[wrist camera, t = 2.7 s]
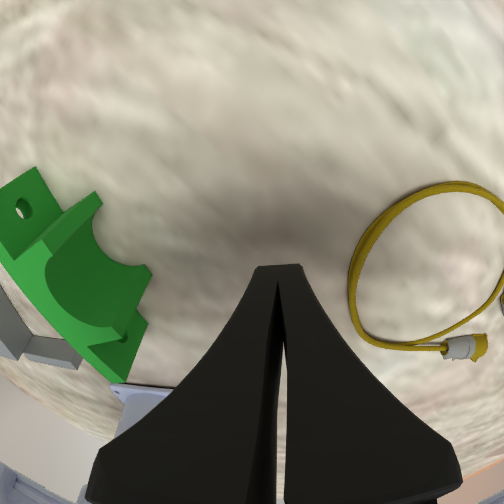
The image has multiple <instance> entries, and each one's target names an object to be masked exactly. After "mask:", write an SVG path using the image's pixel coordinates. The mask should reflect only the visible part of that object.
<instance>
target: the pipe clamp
mask: <svg viewBox="0 0 504 504" xmlns="http://www.w3.org/2000/svg"><path fill="white" fill-rule="evenodd" d="M102 204H103V203H102V201H101V200H100V198H99V196H98V195H97V193H96V192H95V191H94V192H93V193H91V194H90V195H88V196H87V197H85V198H84V199H82V200H81V201H79V202H78V203H77V204H75V205H74V206H72V207H71V208H70V209H68V210H67V211H65V212H63V211H62V209H61V208H60V206H59V205H58V203H57V201H56V200H55V198H54V197H53V195H52V193H51V192H50V190H49V189H48V187H47V185H46V183H45V182H44V180H43V178H42V177H41V175H40V173H39V171H38V170H37V168H36V166H35V167H33V168H32V169H30V170H29V171H27V172H25V173H24V174H22V175H20V176H19V177H17V178H16V179H14V180H13V181H11V182H9V183H8V184H6V185H5V186H3V187H2V188H1V189H0V262H1V264H2V265H3V266H4V268H5V269H6V271H7V272H8V273H9V275H10V276H11V277H12V279H13V280H14V281H15V283H16V284H17V285H18V287H19V288H20V289H21V290H22V292H23V293H24V294H25V295H26V297H27V298H28V299H29V300H30V301H31V303H32V304H33V305H34V306H35V307H36V309H37V310H38V311H39V312H40V313H41V314H42V315H43V317H44V318H45V319H46V320H47V321H48V322H49V323H50V324H51V325H52V326H53V328H54V329H55V330H56V331H57V332H58V333H59V334H60V335H61V336H62V337H63V338H64V339H65V340H66V341H67V342H68V343H69V344H70V345H71V346H72V347H73V348H74V349H75V350H76V351H77V352H78V353H79V354H80V355H81V356H82V357H83V358H84V359H85V360H86V361H87V362H88V363H89V364H91V365H92V366H93V367H94V368H95V369H96V370H97V371H98V372H99V373H100V374H102V375H103V376H104V377H105V378H106V379H107V380H109V381H110V382H111V383H124V382H126V380H127V377H128V375H129V372H130V369H131V367H132V364H133V361H134V359H135V356H136V353H137V351H138V348H139V346H140V343H141V340H142V338H143V335H144V333H145V330H146V328H147V325H148V323H147V322H146V321H145V319H144V318H143V317H142V316H141V315H140V314H139V312H138V311H137V310H136V308H137V306H138V304H139V302H140V299H141V297H142V295H143V293H144V291H145V289H146V287H147V285H148V283H149V281H150V279H151V277H152V274H151V273H150V271H149V270H148V269H147V267H146V266H145V264H144V265H140V266H127V265H123V264H120V263H117V262H115V261H114V260H112V259H111V258H109V257H108V256H107V255H106V254H105V253H104V252H103V251H102V250H101V249H100V248H99V246H98V245H97V243H96V241H95V239H94V236H93V232H92V219H93V216H94V213H95V212H96V210H97V209H98V208H99V207H100V206H101V205H102ZM16 208H18V209H19V210H20V211H21V212H22V214H23V217H24V219H23V218H21V217H20V216H19V215H18V213H17V211H16Z"/></svg>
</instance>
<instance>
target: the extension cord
mask: <svg viewBox="0 0 504 504" xmlns="http://www.w3.org/2000/svg"><path fill="white" fill-rule="evenodd" d="M447 192H466V193H472V194H475V195H479V196H482V197H484V198H486V199H488V200H490V201H491V202H492V203H493V204H494V205H496V207H497V208H498V209H499V210H500V211H501V212H502V213H503V214H504V203H503V202H502V201H501V200H500V199H499V198H497V197H496V196H494V195H493V194H491V193H490V192H489V191H487V190H486V189H485V188H483V187H481V186H479V185H477V184H473V183H470V182H463V181H454V182H447V183H442V184H438V185H434V186H431V187H429V188H426V189H424V190H421V191H419V192H417V193H415V194H413V195H411V196H409V197H407V198H406V199H404V200H402V201H400V202H398V203H397V204H395V205H394V206H392V207H391V208H389V209H388V210H386V211H385V212H384V213H383V214H382V215H381V216H380V217H378V218H377V219H376V220H375V221H374V223H373V224H372V225H371V226H370V227H369V228H368V229H367V231H366V232H365V234H364V235H363V237H362V238H361V240H360V242H359V244H358V246H357V247H356V249H355V252H354V255H353V258H352V261H351V265H350V270H349V278H348V296H349V309H350V314H351V319H352V322H353V324H354V327H355V329H356V331H357V333H358V334H359V336H360V337H361V338H362V339H364V340H365V341H366V342H368V343H370V344H372V345H374V346H377V347H381V348H385V349H393V350H402V351H440V353H441V355H442V356H443V359H449V358H453V359H452V361H453V360H455V359H469V358H470V359H471V360H472V361H473V362H476V361H477V359H478V358H479V357H481V356H483V355H484V354H485V353H486V351H487V348H488V340H487V335H486V334H472V335H469V336H461V337H456V338H452V339H449V340H444V341H443V342H442V344H441V346H414V345H418V344H422V343H425V342H428V341H431V340H433V339H436V338H439V337H441V336H443V335H445V334H447V333H449V332H451V331H453V330H454V329H456V328H458V327H460V326H461V325H463V324H465V323H466V322H468V321H469V320H471V319H472V318H474V317H475V316H477V315H478V314H480V313H481V312H482V311H484V310H485V309H486V308H487V307H488V306H489V305H490V304H491V303H492V302H493V301H494V299H495V298H496V296H497V295H498V293H499V291H500V290H501V288H502V286H503V284H504V273H503V275H502V277H501V280H500V282H499V284H498V286H497V288H496V289H495V291H494V292H493V294H492V296H491V297H490V298H489V299H488V300H487V302H486V303H485V304H483V305H482V306H481V307H480V308H479V309H478V310H476V311H475V312H474V313H472V314H471V315H469V316H468V317H466V318H465V319H463V320H462V321H460V322H458V323H457V324H455V325H453V326H452V327H450V328H448V329H446V330H444V331H442V332H440V333H437V334H435V335H432V336H429V337H427V338H423V339H420V340H416V341H411V342H405V343H386V342H381V341H378V340H375V339H373V338H371V337H370V336H368V335H367V334H366V333H365V332H364V331H363V329H362V327H361V323H360V320H359V317H358V313H357V308H356V295H355V294H356V288H357V282H358V278H359V275H360V271H361V268H362V266H363V264H364V261H365V259H366V257H367V255H368V253H369V251H370V250H371V248H372V246H373V244H374V242H375V241H376V240H377V238H378V237H379V236H380V234H381V233H382V231H383V230H384V229H385V228H386V227H387V226H388V224H389V223H390V222H391V221H392V220H393V219H394V218H395V217H396V216H397V215H399V214H400V213H401V212H402V211H403V210H404V209H406V208H407V207H409V206H410V205H412V204H413V203H415V202H417V201H419V200H421V199H423V198H425V197H428V196H432V195H436V194H440V193H447ZM501 304H502V309H503V310H502V313H503V315H504V293H503V294H502V296H501ZM444 357H445V358H444Z"/></svg>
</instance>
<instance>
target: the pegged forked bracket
mask: <svg viewBox="0 0 504 504" xmlns="http://www.w3.org/2000/svg"><path fill="white" fill-rule="evenodd" d="M22 353H24V354H25V356H26V357H27V358H28V359H29V360H31V361H35V362H39V363H44V364H48V365H53V366H57V367H62V368H67V369H73V370H78V368H79V365H80V363H81V361H82V359H83V357H82V356H81V355H80V354H79V353H78V352H77V351H76V350H75V349H74V348H73V347H72V346H71V345H70V344H69V343H68V342H67V341H66V340H61V339H54V338H47V337H40V336H33V335H32V333H31V332H30V331H29V329H28V328H27V326H26V325H25V323H24V322H23V320H22V319H21V318H20V316H19V315H18V313H17V312H16V310H15V308H14V307H13V305H12V304H11V302H10V301H9V299H8V297H7V296H6V294H5V292H4V291H3V289H2V287H1V286H0V356H2V357H5V358H9V359H12V360H16V361H18V360H19V358H20V356H21V355H22Z"/></svg>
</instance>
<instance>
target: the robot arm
mask: <svg viewBox="0 0 504 504" xmlns="http://www.w3.org/2000/svg"><path fill="white" fill-rule="evenodd" d="M283 342H284V350H285V358H286V366H287V433H286V462H285V484H284V502H285V504H437V498H439V497H441V496H443V495H445V494H448V493H450V492H452V491H454V490H456V489H457V488H459V487H460V486H461V484H462V483H463V479H462V474H461V469H460V465H459V462H458V459H457V457H456V454H455V452H454V449H453V447H452V444H451V443H450V442H449V441H448V440H446V439H445V438H444V437H442V436H441V435H440V434H438V433H437V432H436V431H434V430H433V429H432V428H430V427H429V426H428V425H427V424H425V423H424V422H423V421H422V420H421V419H419V418H418V417H417V416H416V415H415V414H414V413H412V412H411V411H410V410H409V409H408V408H407V407H406V406H404V405H403V404H402V403H401V402H400V401H399V400H398V399H397V398H396V397H395V396H394V395H393V394H392V393H391V392H390V391H389V390H388V389H387V388H386V387H385V386H384V385H383V384H382V383H381V382H380V381H379V380H378V379H377V378H376V377H375V376H374V375H373V374H372V373H371V372H370V371H369V369H368V368H367V367H366V366H365V365H364V364H363V363H362V362H361V360H360V359H359V358H358V357H357V356H356V354H355V353H354V352H353V351H352V349H351V348H350V347H349V346H348V344H347V343H346V342H345V340H344V339H343V338H342V336H341V335H340V333H339V332H338V331H337V329H336V328H335V326H334V325H333V323H332V322H331V320H330V319H329V317H328V316H327V314H326V313H325V311H324V309H323V308H322V306H321V304H320V303H319V301H318V299H317V298H316V296H315V294H314V292H313V290H312V288H311V286H310V284H309V282H308V280H307V278H306V276H305V273H304V270H303V267H302V266H301V265H300V264H299V263H298V264H284V265H270V266H258V267H257V268H256V269H255V271H254V273H253V276H252V278H251V280H250V283H249V285H248V287H247V289H246V291H245V293H244V295H243V297H242V299H241V300H240V302H239V304H238V306H237V307H236V309H235V311H234V313H233V314H232V316H231V318H230V319H229V321H228V322H227V324H226V325H225V327H224V328H223V330H222V331H221V333H220V334H219V336H218V337H217V339H216V340H215V342H214V343H213V344H212V346H211V347H210V348H209V350H208V351H207V352H206V354H205V355H204V356H203V357H202V359H201V360H200V361H199V362H198V364H197V365H196V366H195V367H194V368H193V369H192V370H191V372H190V373H189V374H188V375H187V376H186V377H185V378H184V379H183V380H182V381H181V382H180V384H179V385H178V386H177V387H176V388H175V389H163V388H153V387H143V386H135V385H127V384H119V383H110V386H109V387H110V389H111V390H112V391H113V392H114V394H115V395H116V396H117V397H118V398H119V399H120V400H121V402H122V403H123V404H124V408H123V411H122V414H121V417H120V421H119V424H118V427H117V430H116V433H115V437H114V439H113V440H112V441H110V442H109V443H108V444H106V445H105V446H103V447H101V448H100V449H99V451H98V454H97V457H96V459H95V461H94V463H93V467H92V471H91V474H90V478H89V482H88V484H87V485H84V486H83V487H82V489H81V491H80V494H79V497H78V500H77V503H73V502H71V501H69V500H67V499H65V498H63V497H60V496H59V495H57V494H54V493H53V492H50V491H49V490H47V489H45V487H44V486H42V485H40V484H38V483H36V482H35V481H33V480H31V479H29V478H28V477H26V476H24V475H22V474H21V473H19V472H17V471H15V470H13V469H11V468H10V467H8V466H6V465H5V464H4V463H2V462H0V504H276V477H277V408H278V396H279V386H280V376H281V365H282V354H283ZM476 504H504V489H503V490H501V491H500V492H498V493H496V494H494V495H492V496H490V497H488V498H486V499H484V500H482V501H480V502H478V503H476Z"/></svg>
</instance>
